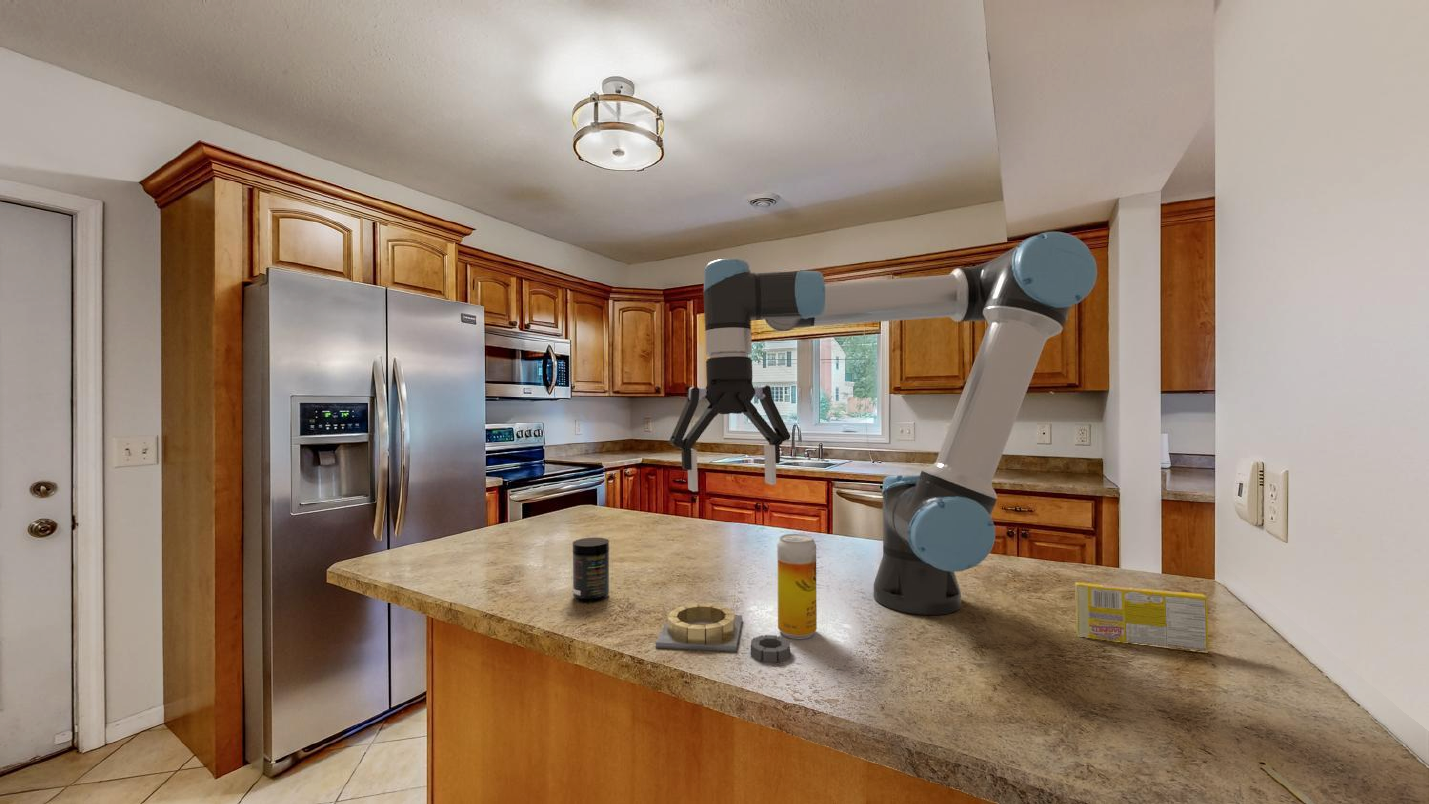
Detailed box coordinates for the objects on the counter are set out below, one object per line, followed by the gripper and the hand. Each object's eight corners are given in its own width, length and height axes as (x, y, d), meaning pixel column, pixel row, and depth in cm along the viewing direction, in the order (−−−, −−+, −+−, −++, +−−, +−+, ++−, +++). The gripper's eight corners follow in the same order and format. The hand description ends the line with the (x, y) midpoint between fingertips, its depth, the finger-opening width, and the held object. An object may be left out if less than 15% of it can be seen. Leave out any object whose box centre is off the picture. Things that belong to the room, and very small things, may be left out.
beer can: (816, 642, 86) (815, 543, 86) (776, 638, 87) (775, 541, 87) (817, 626, 91) (816, 534, 92) (779, 623, 93) (779, 532, 93)
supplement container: (617, 596, 106) (616, 540, 106) (588, 606, 101) (588, 548, 101) (593, 589, 110) (593, 535, 110) (565, 598, 105) (564, 542, 105)
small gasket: (789, 646, 84) (789, 636, 84) (790, 663, 79) (790, 652, 79) (752, 644, 85) (752, 634, 85) (749, 661, 79) (749, 650, 79)
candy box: (1203, 649, 83) (1203, 593, 83) (1209, 655, 81) (1209, 597, 81) (1074, 633, 89) (1074, 580, 89) (1077, 638, 87) (1077, 584, 87)
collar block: (742, 620, 94) (742, 603, 94) (736, 651, 82) (735, 632, 82) (671, 617, 96) (671, 600, 96) (655, 647, 84) (655, 628, 84)
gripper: (786, 358, 100) (790, 478, 100) (648, 359, 91) (652, 490, 91) (807, 354, 93) (811, 483, 93) (660, 354, 84) (664, 496, 84)
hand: (732, 487), depth 92 cm, fingers open, 13 cm apart
